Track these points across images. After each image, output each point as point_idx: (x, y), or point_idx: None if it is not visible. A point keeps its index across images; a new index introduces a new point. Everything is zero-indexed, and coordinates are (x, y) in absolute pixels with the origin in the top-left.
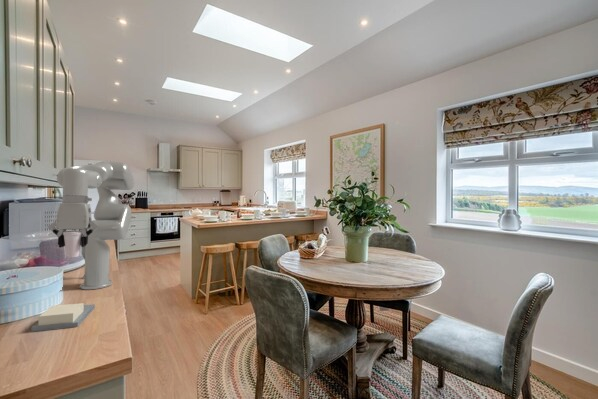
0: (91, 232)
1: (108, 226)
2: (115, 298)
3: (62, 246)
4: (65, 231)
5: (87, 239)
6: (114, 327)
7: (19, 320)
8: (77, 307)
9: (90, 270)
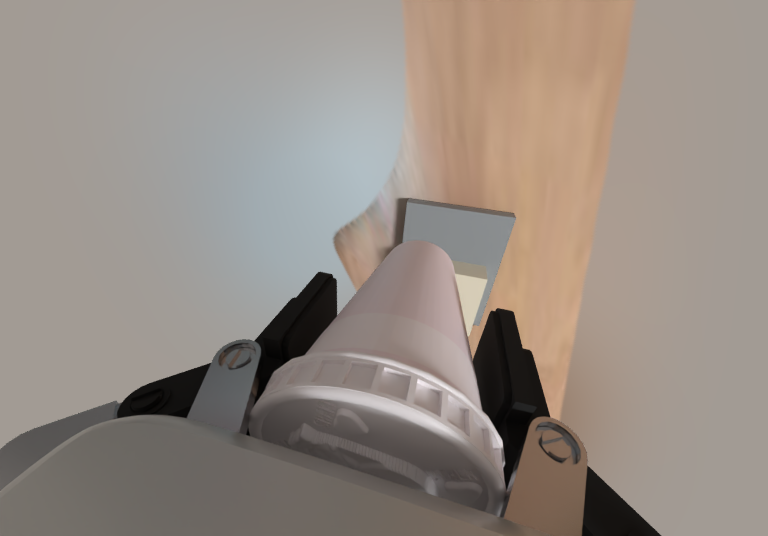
0: (626, 523)
1: None
2: (600, 124)
3: (335, 316)
4: (260, 431)
5: (536, 395)
6: (552, 354)
7: (347, 228)
8: (474, 305)
9: None
